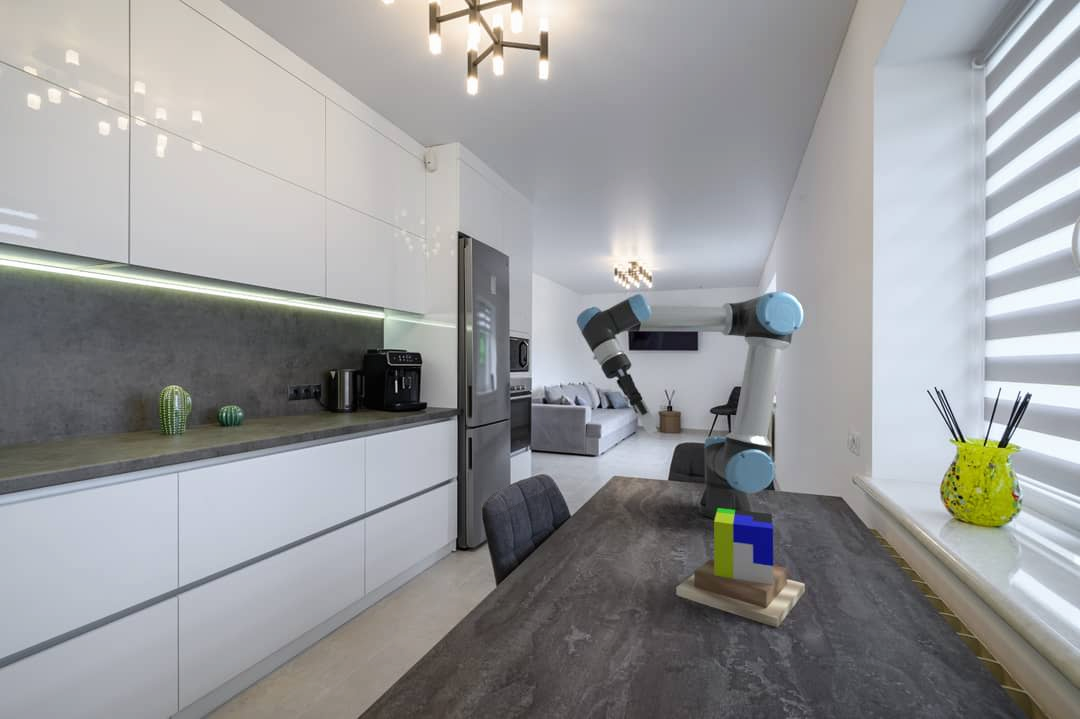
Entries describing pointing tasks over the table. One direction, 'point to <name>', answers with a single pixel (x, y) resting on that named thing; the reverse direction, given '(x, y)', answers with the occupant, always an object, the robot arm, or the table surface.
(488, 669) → the table surface
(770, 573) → the puzzle toy
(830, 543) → the table surface
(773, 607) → the build plinth
